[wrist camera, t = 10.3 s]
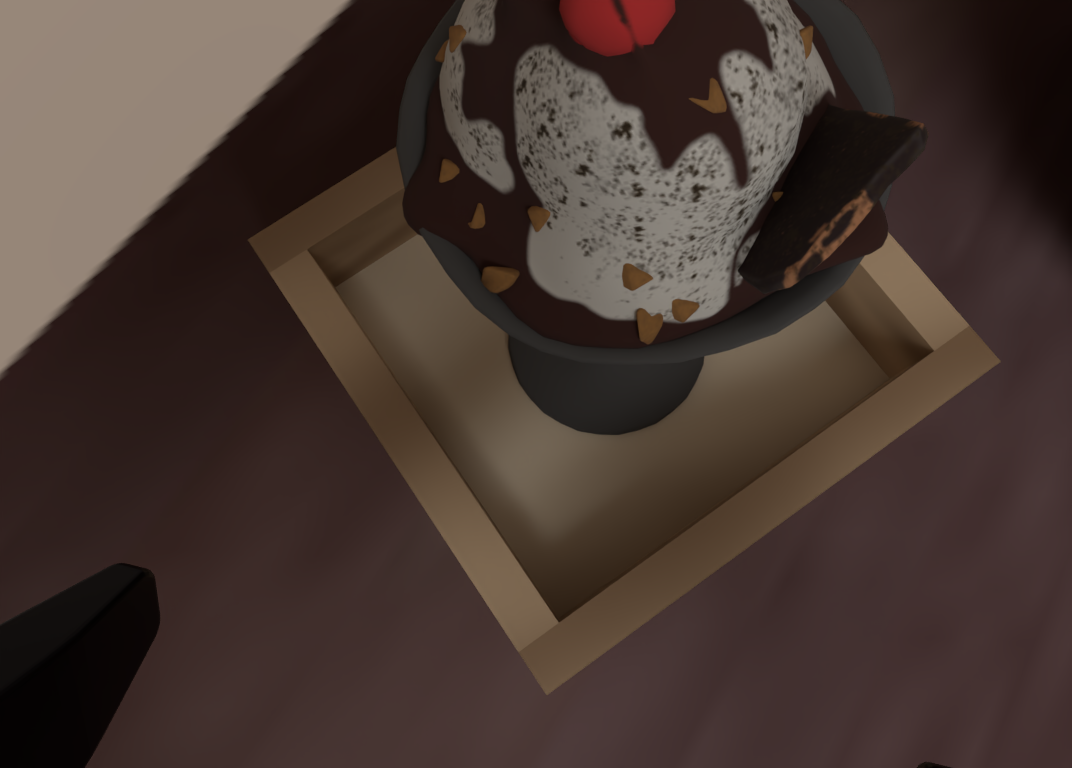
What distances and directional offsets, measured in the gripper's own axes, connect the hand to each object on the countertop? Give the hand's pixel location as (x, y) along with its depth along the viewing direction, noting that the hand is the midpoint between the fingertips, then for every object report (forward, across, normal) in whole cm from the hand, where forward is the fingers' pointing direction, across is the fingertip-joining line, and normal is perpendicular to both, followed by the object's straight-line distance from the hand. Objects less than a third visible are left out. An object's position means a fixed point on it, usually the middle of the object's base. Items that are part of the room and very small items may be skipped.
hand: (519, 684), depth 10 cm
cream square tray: (+13, 0, +2) cm, 13 cm away
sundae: (+12, 0, +2) cm, 13 cm away
